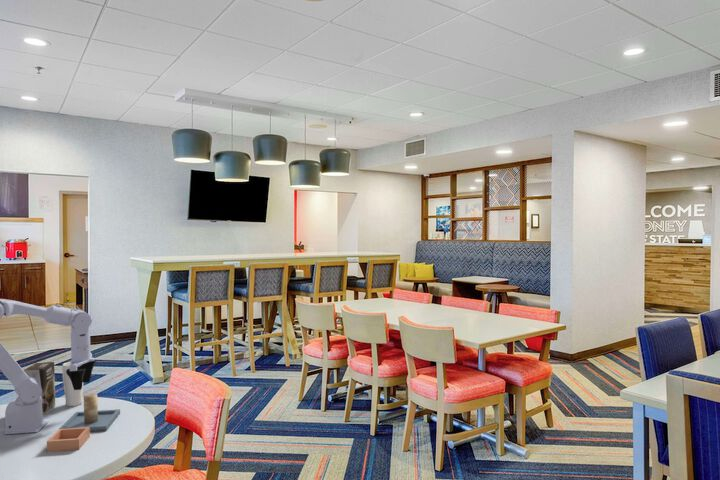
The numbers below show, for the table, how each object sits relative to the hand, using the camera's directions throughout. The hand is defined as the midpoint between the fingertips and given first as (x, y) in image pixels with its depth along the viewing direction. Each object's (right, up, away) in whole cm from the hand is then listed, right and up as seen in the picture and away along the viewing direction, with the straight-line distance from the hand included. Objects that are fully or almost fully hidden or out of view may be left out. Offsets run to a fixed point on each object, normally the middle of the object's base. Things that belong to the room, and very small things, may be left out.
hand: (82, 385), depth 171 cm
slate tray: (+6, -11, -6) cm, 13 cm away
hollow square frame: (+7, -11, -21) cm, 25 cm away
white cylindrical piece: (-9, -10, +11) cm, 17 cm away
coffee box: (-17, -10, +5) cm, 20 cm away
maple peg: (+6, -10, -6) cm, 13 cm away
